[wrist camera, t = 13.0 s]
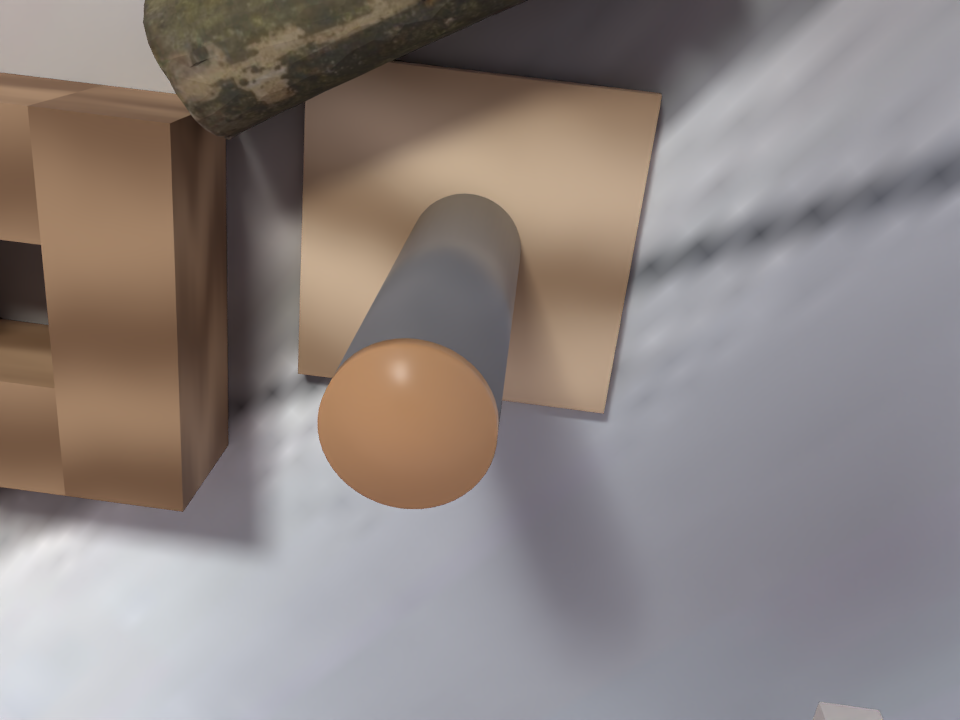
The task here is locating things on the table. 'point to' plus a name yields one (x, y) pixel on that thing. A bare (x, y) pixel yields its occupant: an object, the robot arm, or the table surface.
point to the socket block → (114, 294)
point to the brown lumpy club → (287, 48)
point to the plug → (428, 362)
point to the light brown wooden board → (488, 173)
